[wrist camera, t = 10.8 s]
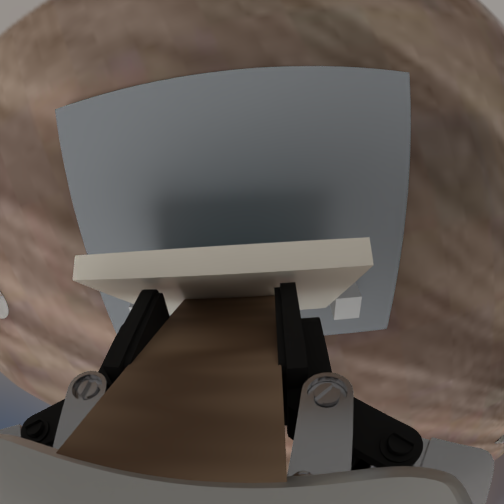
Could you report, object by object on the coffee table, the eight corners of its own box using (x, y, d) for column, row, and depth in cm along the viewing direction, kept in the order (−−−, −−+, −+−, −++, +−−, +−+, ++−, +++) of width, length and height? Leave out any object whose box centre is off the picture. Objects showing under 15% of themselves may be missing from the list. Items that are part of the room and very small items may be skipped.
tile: (325, 307, 19) (324, 291, 19) (373, 264, 9) (369, 234, 9) (164, 314, 19) (164, 299, 20) (72, 280, 10) (75, 252, 10)
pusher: (276, 294, 13) (286, 489, 3) (280, 375, 14) (286, 574, 4) (184, 299, 14) (52, 457, 4) (196, 377, 14) (122, 555, 4)
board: (398, 73, 15) (422, 71, 12) (380, 315, 22) (393, 343, 20) (68, 107, 16) (39, 112, 13) (125, 327, 23) (111, 353, 21)
